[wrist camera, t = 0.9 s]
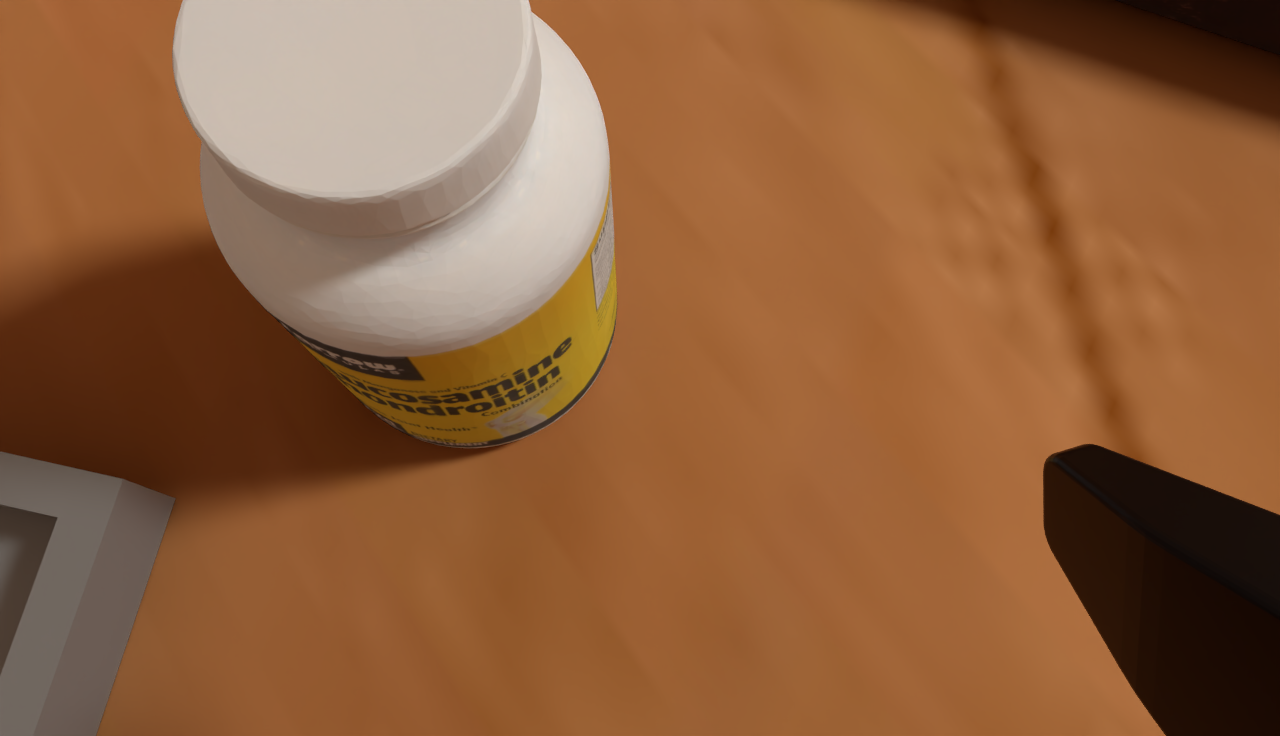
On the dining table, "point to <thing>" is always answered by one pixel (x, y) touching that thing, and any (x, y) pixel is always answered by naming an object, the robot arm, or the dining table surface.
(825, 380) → the dining table surface
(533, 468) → the dining table surface
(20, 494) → the holder tray
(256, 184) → the pill bottle
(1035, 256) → the dining table surface
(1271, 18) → the diary
